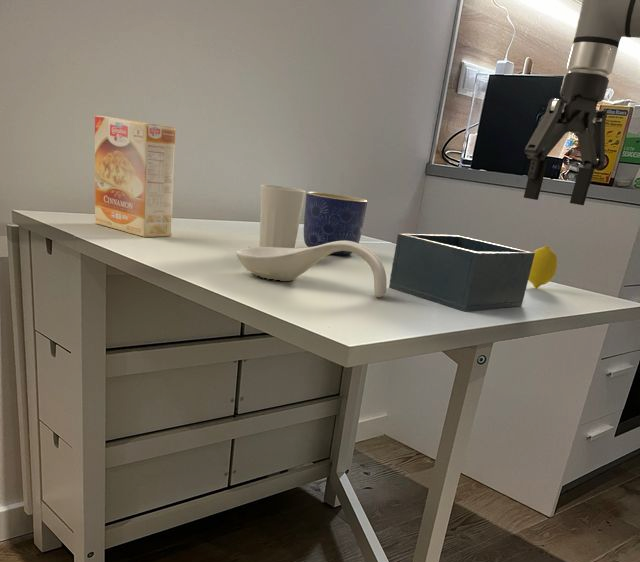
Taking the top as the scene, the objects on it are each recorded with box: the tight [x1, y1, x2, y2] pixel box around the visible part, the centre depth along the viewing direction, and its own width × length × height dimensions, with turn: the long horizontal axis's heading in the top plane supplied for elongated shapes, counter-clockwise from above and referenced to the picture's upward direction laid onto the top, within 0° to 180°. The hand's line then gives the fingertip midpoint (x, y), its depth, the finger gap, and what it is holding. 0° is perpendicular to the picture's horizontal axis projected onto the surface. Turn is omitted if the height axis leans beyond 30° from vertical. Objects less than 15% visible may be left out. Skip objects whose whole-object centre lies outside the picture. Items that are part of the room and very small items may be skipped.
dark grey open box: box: [388, 233, 535, 312], centre depth 107 cm, size 16×16×9 cm
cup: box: [259, 184, 306, 248], centre depth 120 cm, size 8×8×12 cm
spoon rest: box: [235, 241, 387, 298], centre depth 101 cm, size 24×12×7 cm, turn 75°
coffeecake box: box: [94, 115, 177, 238], centre depth 125 cm, size 15×7×20 cm, turn 53°
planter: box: [303, 191, 368, 256], centre depth 135 cm, size 12×12×11 cm
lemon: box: [528, 245, 558, 289], centre depth 127 cm, size 6×6×8 cm
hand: (554, 201), depth 124 cm, fingers open, 13 cm apart
